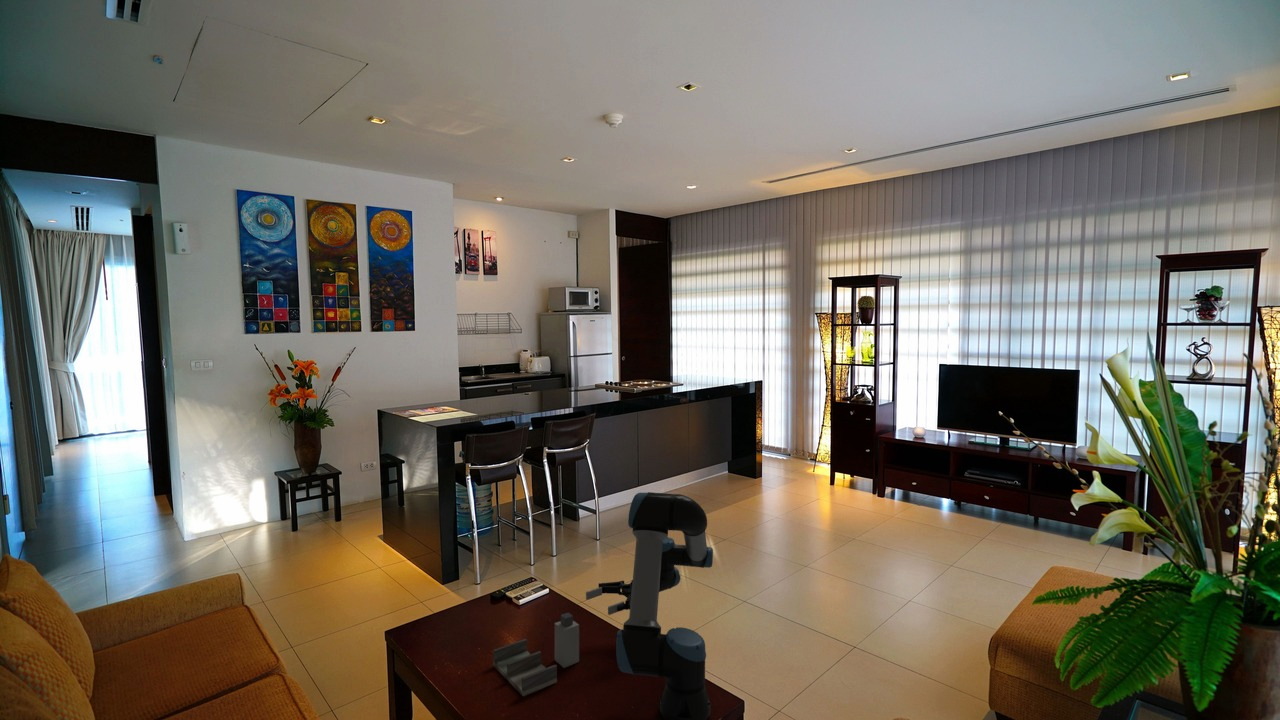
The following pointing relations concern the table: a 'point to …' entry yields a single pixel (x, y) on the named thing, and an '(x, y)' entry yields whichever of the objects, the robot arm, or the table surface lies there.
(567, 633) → the grey square bottle
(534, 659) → the slot rack
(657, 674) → the robot arm
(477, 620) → the table surface
